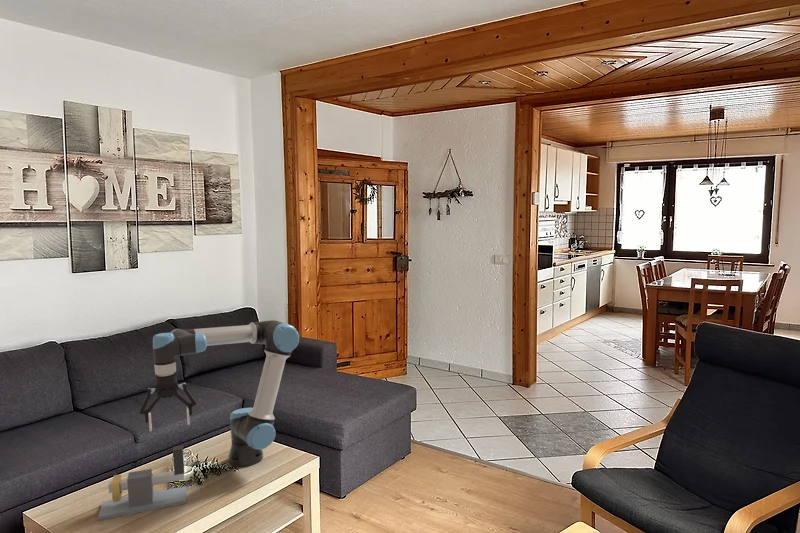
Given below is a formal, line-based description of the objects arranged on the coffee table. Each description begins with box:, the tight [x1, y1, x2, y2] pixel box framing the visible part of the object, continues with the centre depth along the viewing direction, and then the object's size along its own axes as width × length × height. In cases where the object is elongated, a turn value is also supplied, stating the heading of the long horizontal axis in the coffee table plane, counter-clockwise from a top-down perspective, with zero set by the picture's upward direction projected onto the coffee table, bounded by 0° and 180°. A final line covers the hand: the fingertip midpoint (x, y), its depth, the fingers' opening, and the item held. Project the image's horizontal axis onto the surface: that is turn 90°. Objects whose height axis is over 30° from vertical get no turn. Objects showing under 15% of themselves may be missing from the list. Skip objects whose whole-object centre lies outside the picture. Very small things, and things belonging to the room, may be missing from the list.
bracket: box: [97, 468, 188, 521], centre depth 209 cm, size 30×12×12 cm, turn 111°
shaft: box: [108, 445, 185, 494], centre depth 209 cm, size 26×4×12 cm, turn 111°
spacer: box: [111, 473, 123, 502], centre depth 206 cm, size 2×7×7 cm, turn 21°
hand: (169, 426), depth 212 cm, fingers open, 13 cm apart
